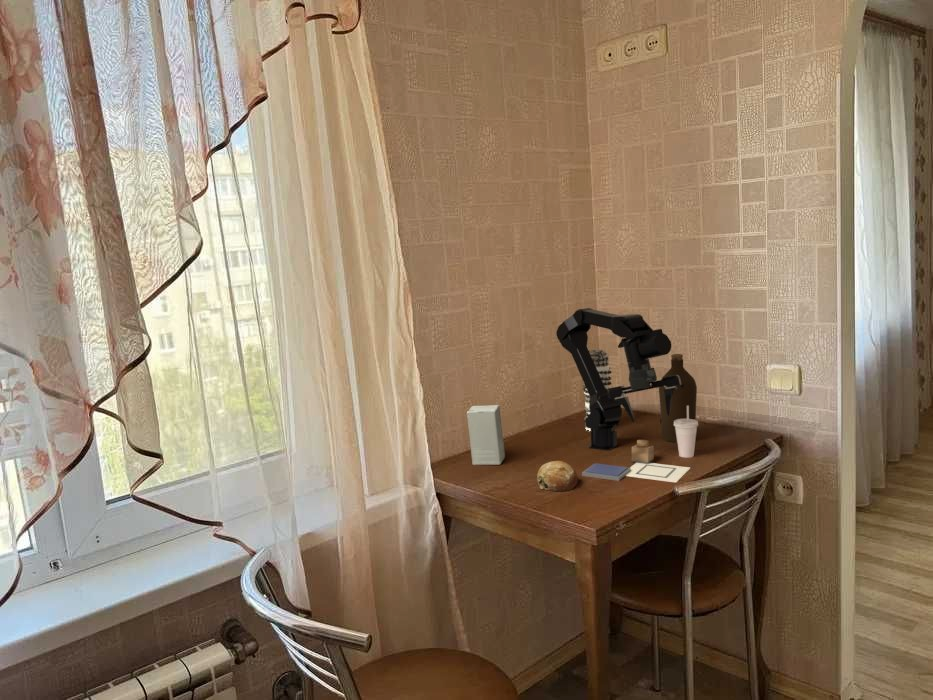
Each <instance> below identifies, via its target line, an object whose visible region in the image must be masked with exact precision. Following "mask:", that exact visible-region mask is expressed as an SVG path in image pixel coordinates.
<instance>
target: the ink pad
mask: <svg viewBox="0 0 933 700" xmlns="http://www.w3.org/2000/svg"><path fill="white" fill-rule="evenodd" d="M630 471H631V468H630V467H627V466H622V465H621V466H619V465H611V464H603V463H593V464H591V465H590V466H589V467H587V468H586V469H585V470H584V471H582V472H581V476H582V477H587V478H590V477H591V478H596V479H603V480H609V481H611V480H612V481H617V482H620V481H621V480H622V479H623V478H624V477H626V476H625V475H626V474H627V473H629V472H630Z"/></svg>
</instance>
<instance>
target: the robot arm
mask: <svg viewBox="0 0 933 700" xmlns="http://www.w3.org/2000/svg"><path fill="white" fill-rule="evenodd" d="M592 326H595V327H599V328H603V329H606V330H610V331H611V332H612V333H613V335H616V336H618V337H619V338H621V340H620V342H619V343H618V345H617V348H619V349H621V348H623V349H624V354H625V358H626V363H627V367H628V371H629V374H628V382H629V385H630V386H625V385H624V384H623V385H620V386H615V387H609V389H608V391H607V390H606V388H605V386H604V384H603V382H602V379H601V377H600V375H599V373H598V371H597V368H596V366H595V364H594V362H593V359H592V357H591V355H590V353H589V351H590V350H589V349H588V339H589V335H588V332H589V330H590V329H591V328H592ZM556 338H557V340H558V341H559V343H560V345H561V346H562V348H563V349H565V350H566V351H568V352H569V354H571V356H572V358H573V360H574V363H575V364H576V368H577V370H578V372H579V375H580V377H581V379H583V380H582V381H583V383H584V384H585V386H586V388H587V390H588V393H589V395H590V404H589V409H590V412H591V413H590V414H589V415H588V417H587V418H586V419H585V418H584V425H585V424H586V426H585V428H586V427H587V428H591V432H590V445H589V446H588V449H593V450H604V451H611V450H612V449H614V448H616V446H618V433H617V431H616V426H619V425H620V422H621V418H622V413H623V410H622V407H623V408H624V410H625V411H626V413H627V415H628V416H629V418H630V420H631V422H632V423H635V421H636V420H635V416H634V411H633V408H632V406H631V402H630V399H629V396H626V394H627V395H628V394H631V393H632V394H633V393H637V392H642V391H646V390H650V389H651V390H652V389H655V388H656V389H657V388H659V387H663V386H664V387H665V388H666V389H665V390H664V393H665V401H666V410H667V415H668V416H669V415H670V407H671V398H672V394H673V390H675V389H677V387H676V386H678V385H681V380H680V376H678V375H673V376H668V377H663V376H662V377H663V380H661V379H659V380H658V379H657V372H656V369H655V367H651V362H650V359H653V358H657V357H662V356H666V355H668V354H670V352H671V350H672V341H671V339H670V337H668V335H667V334H666V333H664V332H663V329H662V328H657V329H653V328H652V327H651V326H650V325H649V324H648V323H647V322H646V320H644V317H643V316H642V315H641V314H639V313H637V314H636V313H635V314H634V313H633V314H616V313H611V312H606V311H600V310H596V309H593V308H591V307H586V308H578V309H577V310H576V311H575V312H574V313H572V315H570V316H569V317H568V318H567V319H565V320H564V321H562V323H561V324H559V325H558V327H557V329H556Z"/></svg>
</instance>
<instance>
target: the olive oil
mask: <svg viewBox="0 0 933 700" xmlns="http://www.w3.org/2000/svg"><path fill="white" fill-rule="evenodd" d="M670 355H671V359H670V365H671V367H670V369H669V370H668V371H667V372H666V373H665V374H664V375H663V376H662V377H661V379H660V380H663V377H668V376H673V375H678V376H680V380H681V385H678V386H676V387H677V389H675V390H673V394H672V398H671V407H670V415H669V416H668V415H667V410H666V401H665V393H664V390H665V389H666V388H665V387H664V386H663V387H658V395H659V408H660V419H659V422H660V424H661V438H662V439H663V440H664V441H666V442H670V443H677V437H676V430H675V426H674V421H675V420H677V419H687V406H689V419H694V420H697V418H696V416H697V415H696V414H697V394H698V393H697V391H698V387H697V383H696V380H695V379H694V377H693V376H692V375H691V374H690V372H688V371H687V369H685V368H684V359H683V354H681V353H672V354H670Z"/></svg>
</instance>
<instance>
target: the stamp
mask: <svg viewBox="0 0 933 700" xmlns="http://www.w3.org/2000/svg"><path fill="white" fill-rule="evenodd" d="M649 442H650V441H649V440H647V439H637V440H636V444H635V445H633V446H631V462H632V463H636V462H638V463H646V464H648V463H653V462H654V461H655V458H654V457H655V456H654V455H655V453H654V452H655V448H654V447H655V445H650V444H649Z"/></svg>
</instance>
